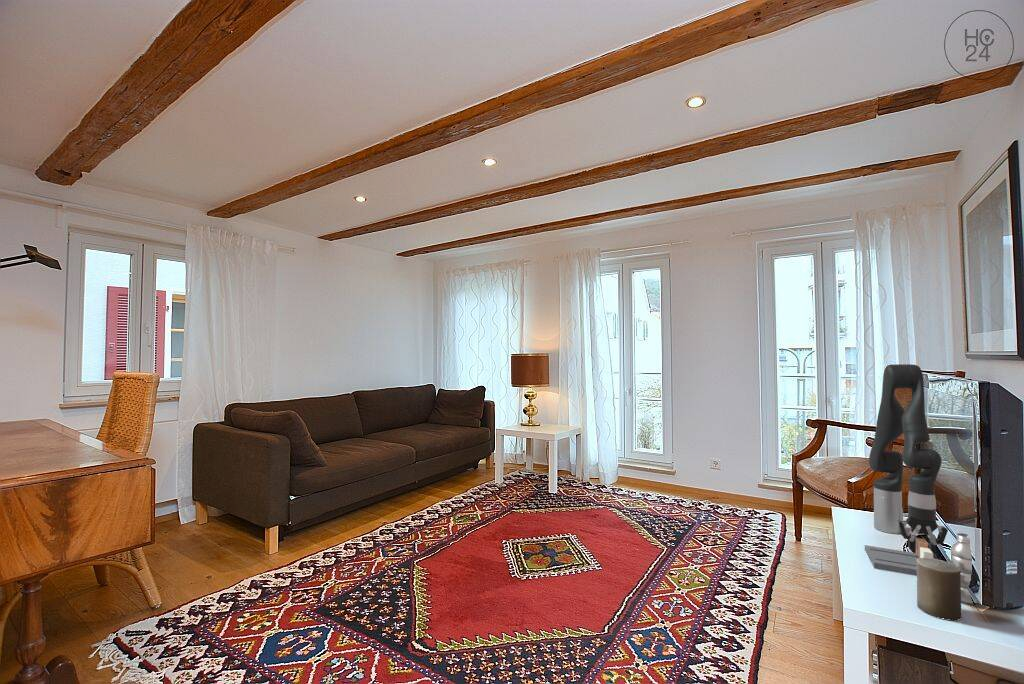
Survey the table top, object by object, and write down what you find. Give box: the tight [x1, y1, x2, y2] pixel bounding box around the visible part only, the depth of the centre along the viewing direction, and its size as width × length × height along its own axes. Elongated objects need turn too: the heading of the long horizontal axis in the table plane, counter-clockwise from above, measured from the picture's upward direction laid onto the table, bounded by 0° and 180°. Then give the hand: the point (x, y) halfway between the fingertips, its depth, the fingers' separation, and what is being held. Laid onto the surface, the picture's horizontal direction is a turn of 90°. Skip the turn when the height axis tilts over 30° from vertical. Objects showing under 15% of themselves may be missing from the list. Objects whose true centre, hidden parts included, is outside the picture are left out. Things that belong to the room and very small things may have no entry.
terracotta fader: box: [915, 537, 929, 558], centre depth 167 cm, size 2×4×6 cm, turn 152°
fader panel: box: [864, 544, 936, 577], centre depth 166 cm, size 20×16×2 cm
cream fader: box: [920, 547, 934, 559], centre depth 159 cm, size 2×4×6 cm, turn 153°
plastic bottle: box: [950, 532, 974, 605], centre depth 142 cm, size 6×7×20 cm
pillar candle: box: [916, 558, 962, 621], centre depth 137 cm, size 10×10×15 cm
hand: (922, 552), depth 167 cm, fingers open, 4 cm apart
